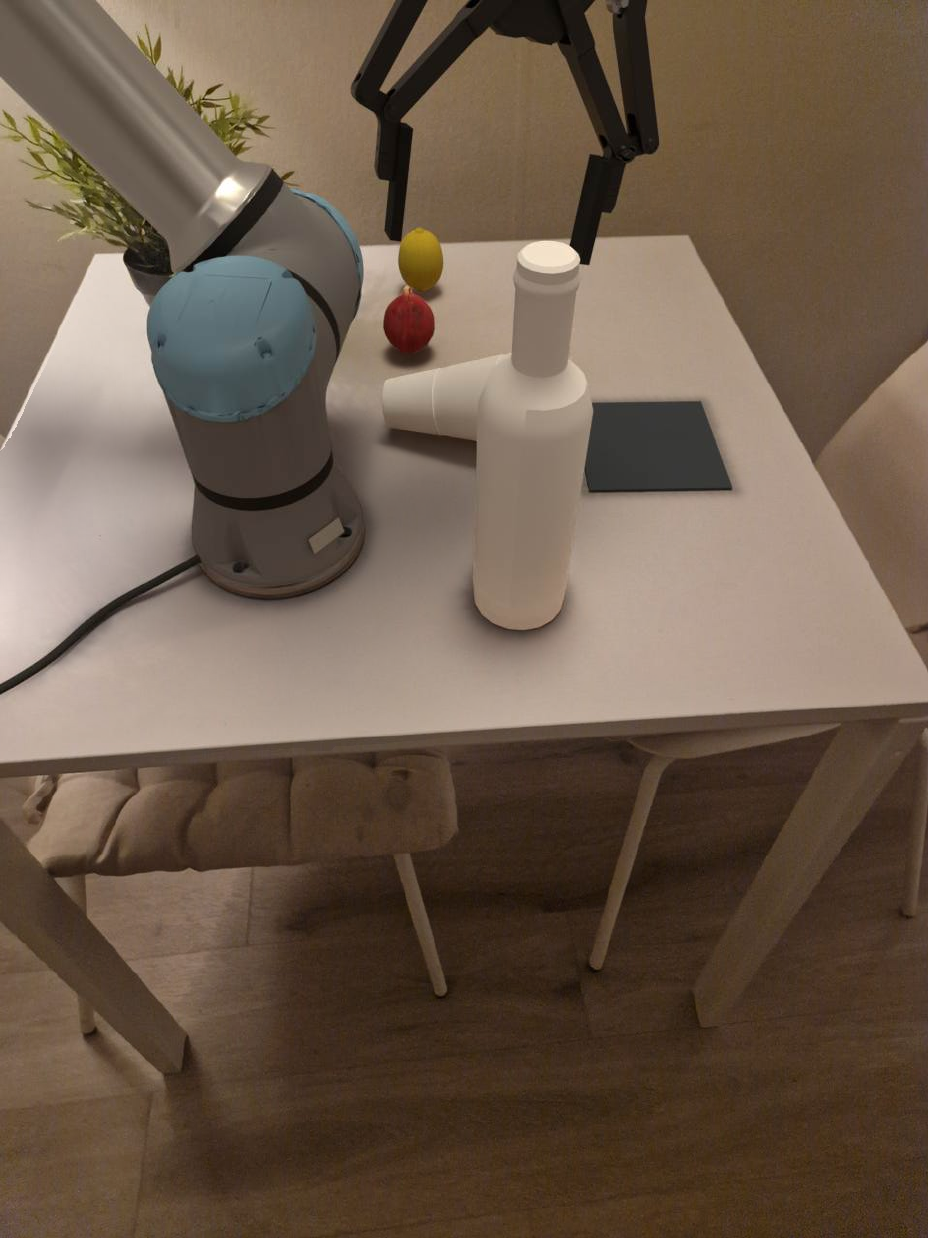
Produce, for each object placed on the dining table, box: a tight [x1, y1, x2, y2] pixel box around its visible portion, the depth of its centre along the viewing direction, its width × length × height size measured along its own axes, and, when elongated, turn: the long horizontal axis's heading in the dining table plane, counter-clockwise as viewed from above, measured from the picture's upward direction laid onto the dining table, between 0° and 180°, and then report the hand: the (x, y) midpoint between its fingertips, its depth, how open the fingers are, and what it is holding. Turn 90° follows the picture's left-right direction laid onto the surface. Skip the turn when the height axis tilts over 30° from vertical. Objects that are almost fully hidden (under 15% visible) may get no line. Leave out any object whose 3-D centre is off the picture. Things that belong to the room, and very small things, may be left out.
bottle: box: [472, 240, 593, 631], centre depth 57 cm, size 8×8×30 cm
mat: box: [584, 400, 733, 493], centre depth 82 cm, size 14×14×1 cm
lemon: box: [397, 227, 444, 294], centre depth 98 cm, size 6×6×8 cm
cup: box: [381, 347, 573, 442], centre depth 79 cm, size 11×11×18 cm
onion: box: [382, 284, 436, 355], centre depth 89 cm, size 6×6×8 cm
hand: (488, 249), depth 56 cm, fingers open, 13 cm apart
